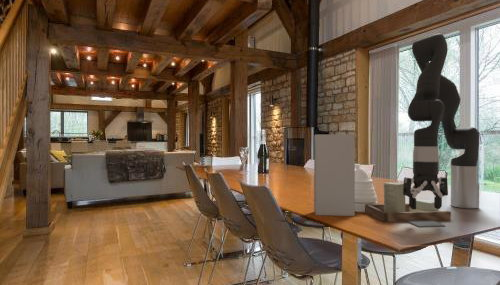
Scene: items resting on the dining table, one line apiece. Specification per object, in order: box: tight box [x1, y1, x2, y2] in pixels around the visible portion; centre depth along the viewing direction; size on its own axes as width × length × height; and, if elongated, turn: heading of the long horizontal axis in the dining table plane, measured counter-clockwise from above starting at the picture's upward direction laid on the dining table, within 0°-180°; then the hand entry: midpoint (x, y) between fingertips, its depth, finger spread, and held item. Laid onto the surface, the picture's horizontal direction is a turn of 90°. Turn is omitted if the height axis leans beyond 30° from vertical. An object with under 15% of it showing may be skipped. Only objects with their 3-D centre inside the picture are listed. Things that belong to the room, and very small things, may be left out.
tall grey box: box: [313, 134, 356, 217], centre depth 123 cm, size 14×6×30 cm, turn 84°
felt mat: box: [405, 220, 446, 228], centre depth 108 cm, size 9×7×1 cm
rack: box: [364, 203, 452, 223], centre depth 120 cm, size 24×15×3 cm, turn 95°
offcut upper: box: [416, 198, 440, 211], centre depth 120 cm, size 5×7×3 cm
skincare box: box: [383, 181, 406, 212], centre depth 120 cm, size 6×4×12 cm
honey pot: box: [355, 163, 378, 213], centre depth 133 cm, size 13×13×18 cm
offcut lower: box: [409, 207, 441, 212], centre depth 120 cm, size 7×9×3 cm
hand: (425, 208), depth 108 cm, fingers open, 8 cm apart
